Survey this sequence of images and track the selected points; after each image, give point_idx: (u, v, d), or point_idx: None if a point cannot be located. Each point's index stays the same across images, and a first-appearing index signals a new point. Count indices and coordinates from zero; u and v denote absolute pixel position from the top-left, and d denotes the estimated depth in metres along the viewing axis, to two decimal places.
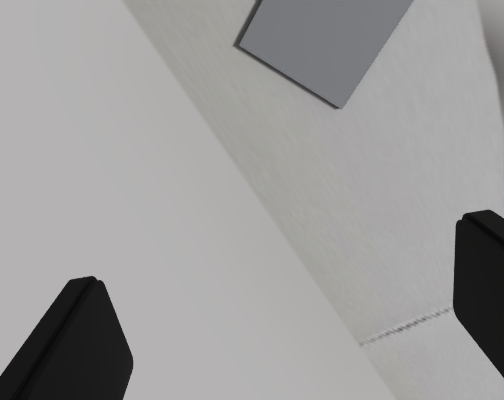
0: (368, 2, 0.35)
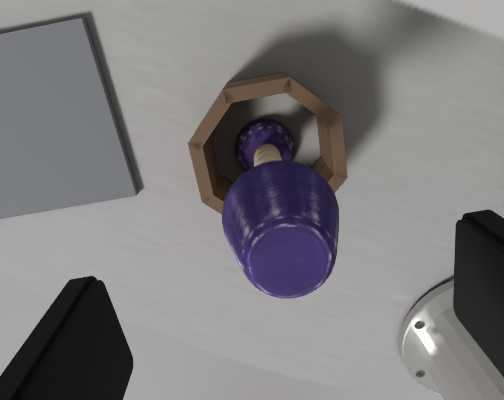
0: (11, 179, 0.27)
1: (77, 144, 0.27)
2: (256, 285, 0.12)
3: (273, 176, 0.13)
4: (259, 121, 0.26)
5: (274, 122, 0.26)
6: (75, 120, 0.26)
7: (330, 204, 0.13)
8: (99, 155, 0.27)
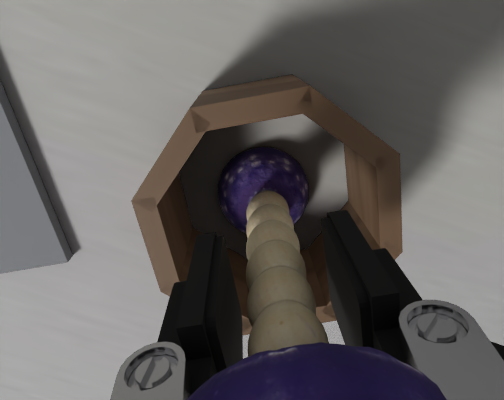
0: None
1: None
2: None
3: None
4: (254, 151, 0.17)
5: (278, 153, 0.17)
6: None
7: None
8: (3, 204, 0.17)
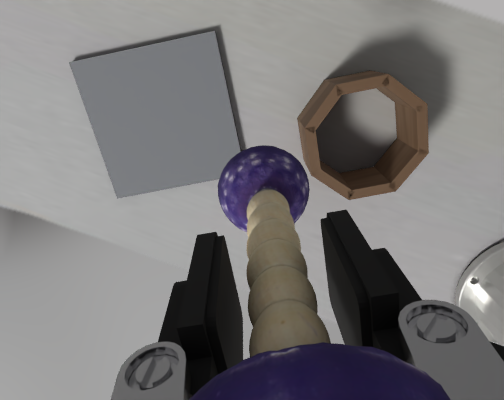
0: (145, 162, 0.34)
1: (201, 132, 0.33)
2: None
3: None
4: (255, 150, 0.17)
5: (278, 151, 0.17)
6: (201, 113, 0.32)
7: None
8: (218, 140, 0.33)
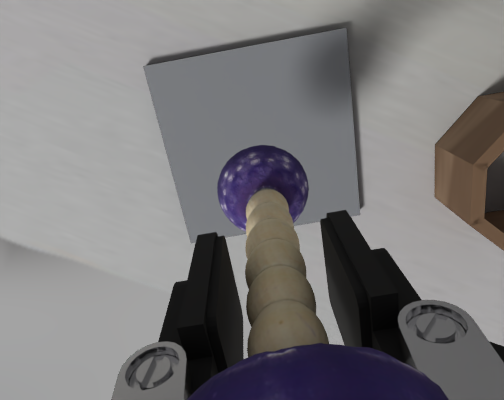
0: None
1: (310, 161, 0.25)
2: None
3: None
4: (254, 149, 0.17)
5: (278, 151, 0.17)
6: (314, 136, 0.24)
7: None
8: (330, 172, 0.25)
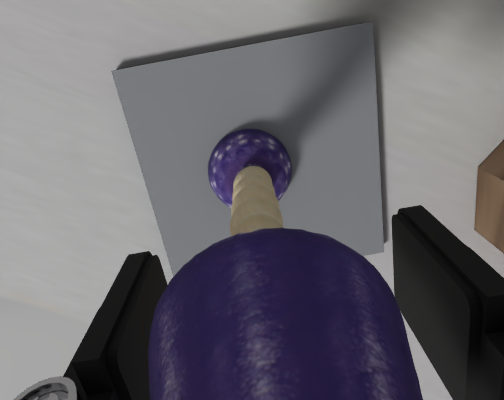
0: (227, 233, 0.21)
1: (324, 189, 0.20)
2: None
3: (263, 282, 0.05)
4: (242, 132, 0.18)
5: (264, 133, 0.18)
6: (329, 159, 0.19)
7: (407, 355, 0.05)
8: (349, 202, 0.20)
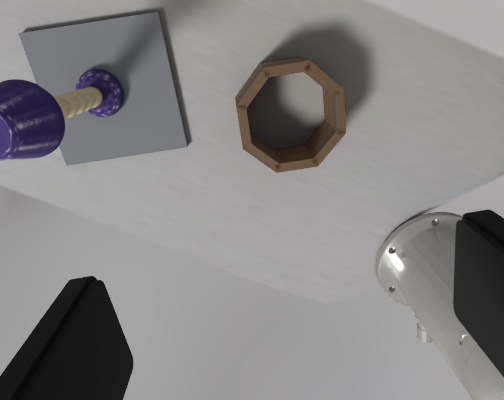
0: (93, 132, 0.36)
1: (146, 106, 0.36)
2: None
3: (0, 86, 0.21)
4: (92, 70, 0.33)
5: (104, 71, 0.33)
6: (146, 88, 0.35)
7: (35, 107, 0.21)
8: (161, 115, 0.36)
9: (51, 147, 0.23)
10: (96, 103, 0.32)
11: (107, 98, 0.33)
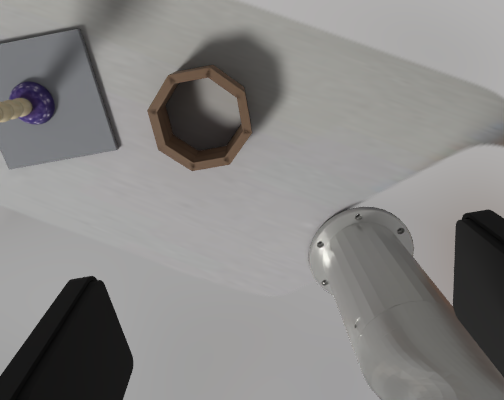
0: (30, 138, 0.40)
1: (75, 113, 0.39)
2: None
3: None
4: (23, 82, 0.37)
5: (34, 84, 0.37)
6: (74, 97, 0.39)
7: None
8: (90, 121, 0.40)
9: None
10: (24, 112, 0.36)
11: (37, 107, 0.37)
